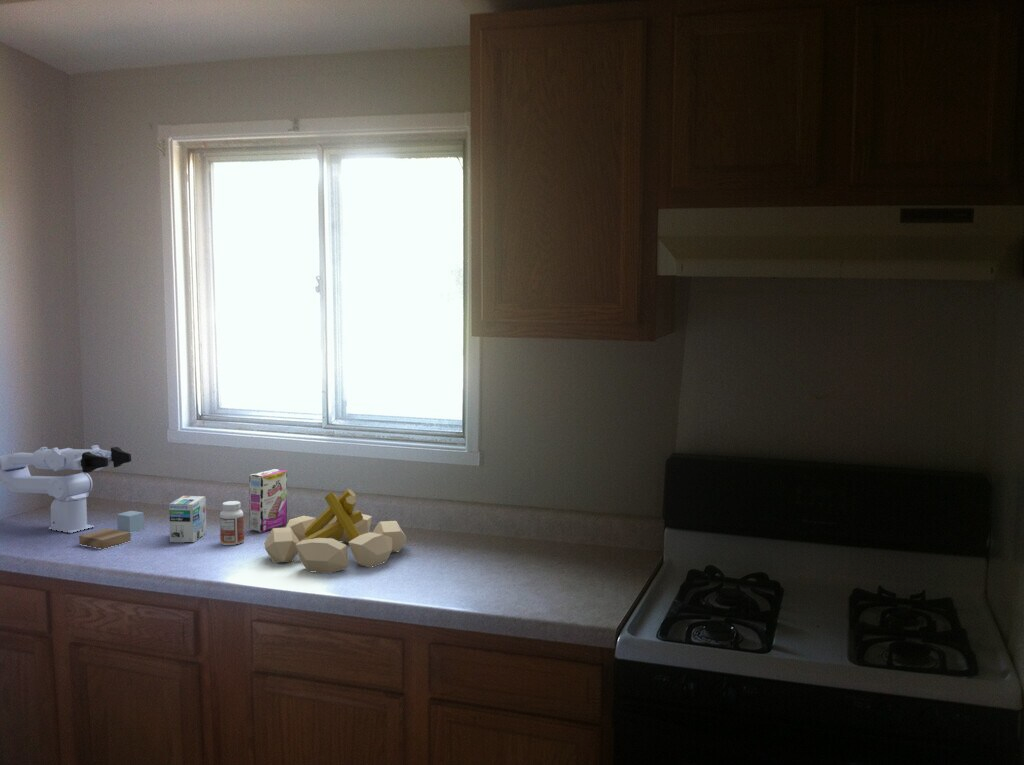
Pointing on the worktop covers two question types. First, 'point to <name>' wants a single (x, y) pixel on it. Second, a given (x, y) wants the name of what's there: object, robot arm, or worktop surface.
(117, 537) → the walnut slab
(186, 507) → the light bulb box
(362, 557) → the campfire
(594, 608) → the worktop surface
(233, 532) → the pill bottle
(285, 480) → the candy bar box
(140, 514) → the slate cube
